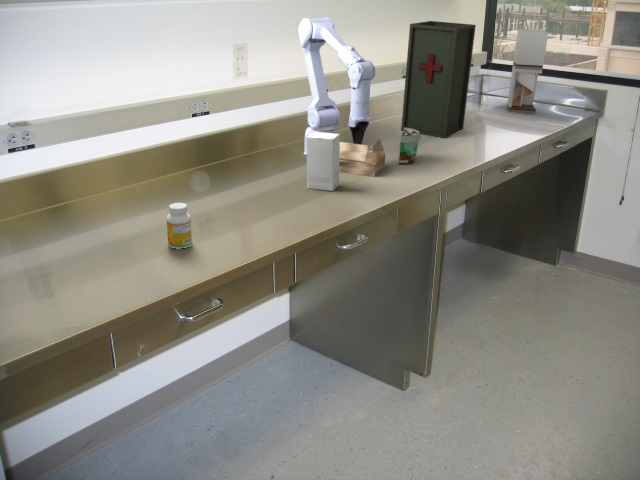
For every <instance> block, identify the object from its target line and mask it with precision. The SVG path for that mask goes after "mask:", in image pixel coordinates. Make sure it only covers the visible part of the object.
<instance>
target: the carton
mask: <svg viewBox="0 0 640 480" xmlns="http://www.w3.org/2000/svg"><path fill="white" fill-rule="evenodd" d="M385 165H386V154H385V155H384V156H383V157H382V158H381V159H380V160H379V161H377V162H376V159H375V157H374V154H373V151H372V150H368V151H367V157H366V162H363V161H356V160H349V159H342V158H339V173H346V174H352V175H358V176H359V175H360V176H367V177H372V178H373V177H375V176H377V175H378V173H379V172H381V170H383V168H385Z"/></svg>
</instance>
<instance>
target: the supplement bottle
mask: <svg viewBox="0 0 640 480" xmlns="http://www.w3.org/2000/svg"><path fill="white" fill-rule="evenodd" d="M168 210H169V211H168V212H169V214H167V216H166V230H167V231H166V232H167V233H166V234H167V244H168V246H169V248H170V247H171V249H172V248H176V249H175V250H182V249H181V248H186V249H188V248H187V247H189V248H190V247H191V246H192V245H193V234H192V218H191V214H189V213H188V204H187V203H185V202H174V203H171V204H169V205H168Z"/></svg>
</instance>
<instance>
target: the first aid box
mask: <svg viewBox="0 0 640 480" xmlns="http://www.w3.org/2000/svg"><path fill="white" fill-rule="evenodd" d="M476 26H477V25H476V24H470V23H461V22H460V23H459V22H457V23H456V22H446V21H438V20H437V21H436V20H435V21H433V20H428V21H421V22H413V23H410V24H409V30H408V31H409V33H408V44H407V57H406V69H405V78H404V79H405V80H404V81H405V82H404V93H403V102H402V103H403V104H402V117H401V130H400V131H401V132H404V128H411V129H415V130H417V131H419V133H420V135H423V136H427V135H428V136H429V137H433V136H434V138H438V137H440V138H441V139H444V138H445V139H447V138H450V137H451V136H453V135H455V134H457V133H459V132H461V131H463V130H464V123H465V117H466V108H467V99H468V92H469V91H468V90H469V84H470V82H469V81H470V75H471V66H472V58H473V50H474V41H475V34H476V33H475V32H476ZM462 129H463V130H462ZM460 130H461V131H460ZM458 131H459V132H458ZM456 132H457V133H456ZM454 133H455V134H454ZM452 134H453V135H452Z"/></svg>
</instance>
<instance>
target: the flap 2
mask: <svg viewBox="0 0 640 480" xmlns="http://www.w3.org/2000/svg"><path fill="white" fill-rule="evenodd" d="M370 149H371V151H373V154H374V157H375V159H376V162H377V161H379V160H380V159H381V158H382V157H383V156H384V155H385V156H386V151H385V149H384V146H383V143H382V141H381V139H378V140H377V141H375V143H373V144H372V145H371V146H370Z"/></svg>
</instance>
